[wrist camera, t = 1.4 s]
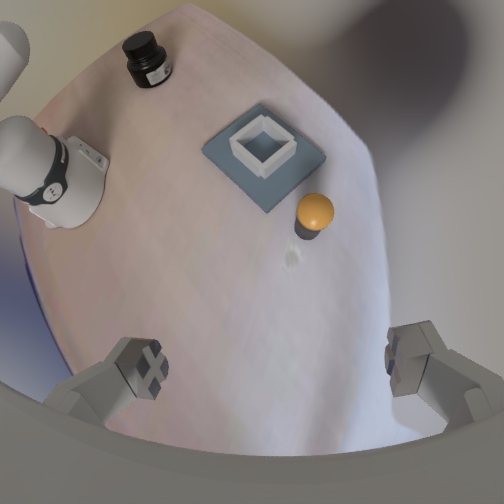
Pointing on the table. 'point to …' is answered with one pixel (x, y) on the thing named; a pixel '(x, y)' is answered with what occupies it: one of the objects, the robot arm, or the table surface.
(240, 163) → the mount
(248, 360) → the table surface
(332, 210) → the knob
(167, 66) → the ink bottle
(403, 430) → the table surface
